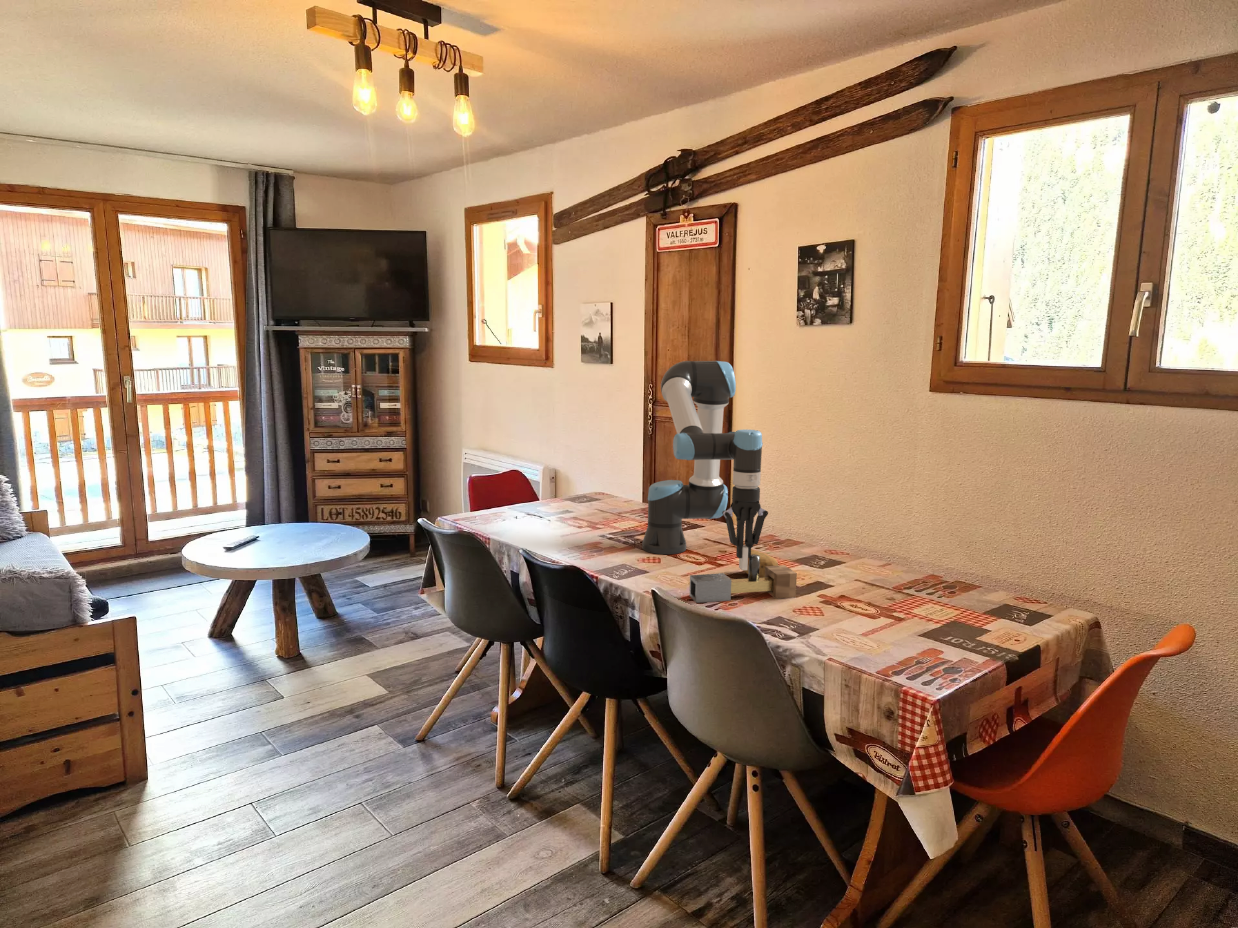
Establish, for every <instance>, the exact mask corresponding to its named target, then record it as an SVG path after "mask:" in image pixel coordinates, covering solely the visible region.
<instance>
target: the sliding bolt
mask: <svg viewBox="0 0 1238 928" xmlns="http://www.w3.org/2000/svg"><path fill="white" fill-rule="evenodd" d="M759 568H760V556H759V555H755V554H752V555H751V557H750V558H749V571H748V574H747V575H748V576H747V578H737V579H736V578H735V579H734V578H733V579H731V594H741V593H742V594H743V593H757V592H766V591H773V584H774V579H773V578H772V577H765V578H759Z"/></svg>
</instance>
